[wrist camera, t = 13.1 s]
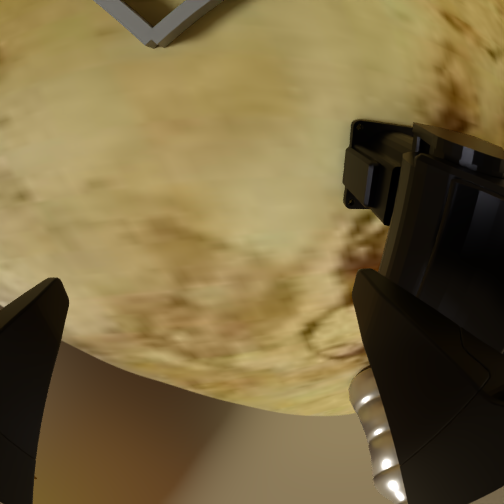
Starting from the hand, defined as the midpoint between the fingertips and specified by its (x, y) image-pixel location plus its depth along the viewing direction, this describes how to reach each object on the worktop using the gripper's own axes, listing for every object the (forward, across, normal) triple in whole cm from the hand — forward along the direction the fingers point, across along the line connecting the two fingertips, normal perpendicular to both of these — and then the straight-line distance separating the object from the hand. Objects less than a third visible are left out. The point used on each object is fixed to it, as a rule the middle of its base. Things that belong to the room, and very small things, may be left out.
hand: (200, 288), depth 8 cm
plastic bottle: (+13, -17, +26) cm, 34 cm away
